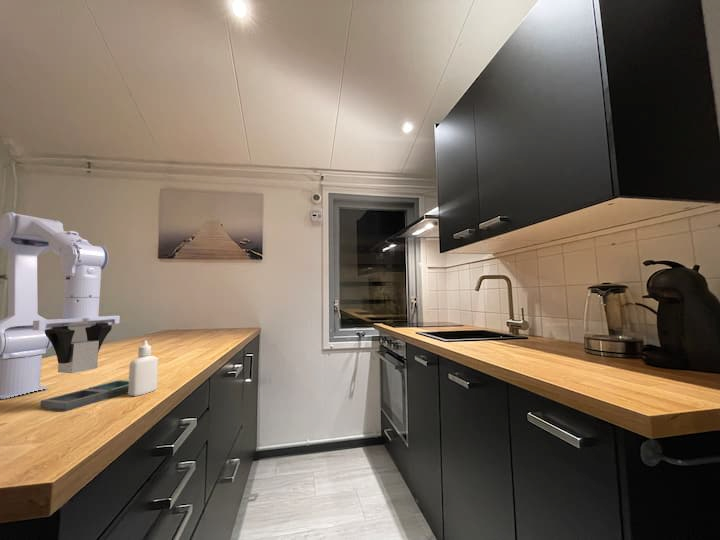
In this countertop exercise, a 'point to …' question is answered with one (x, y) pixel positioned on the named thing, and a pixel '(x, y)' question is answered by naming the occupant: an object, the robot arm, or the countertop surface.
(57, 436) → the countertop surface
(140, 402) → the countertop surface
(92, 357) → the block
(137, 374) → the eye dropper bottle
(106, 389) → the grey flat frame
